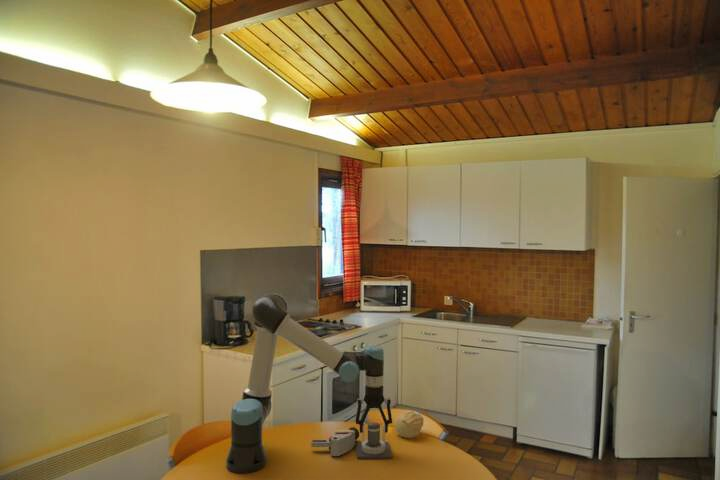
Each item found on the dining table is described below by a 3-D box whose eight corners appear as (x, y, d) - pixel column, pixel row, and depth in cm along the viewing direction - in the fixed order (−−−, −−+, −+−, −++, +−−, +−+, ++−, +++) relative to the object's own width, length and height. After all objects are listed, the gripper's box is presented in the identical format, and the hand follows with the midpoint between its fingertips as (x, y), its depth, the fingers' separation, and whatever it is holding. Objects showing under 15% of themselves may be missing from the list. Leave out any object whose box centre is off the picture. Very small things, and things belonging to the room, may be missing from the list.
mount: (357, 459, 197) (357, 451, 197) (355, 444, 211) (355, 437, 211) (392, 458, 198) (392, 451, 198) (388, 444, 212) (388, 437, 212)
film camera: (329, 437, 220) (360, 442, 214) (308, 452, 202) (341, 458, 196) (329, 421, 220) (360, 426, 214) (308, 435, 203) (341, 440, 197)
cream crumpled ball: (409, 443, 213) (410, 418, 213) (389, 434, 222) (390, 410, 222) (427, 436, 221) (427, 412, 220) (407, 428, 229) (407, 405, 229)
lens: (368, 451, 201) (367, 427, 201) (367, 446, 207) (367, 422, 207) (380, 451, 202) (380, 427, 202) (379, 446, 207) (379, 422, 207)
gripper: (349, 387, 200) (348, 444, 200) (400, 387, 201) (399, 443, 201) (348, 382, 207) (348, 436, 207) (397, 382, 208) (397, 436, 209)
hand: (373, 440), depth 204 cm, fingers open, 8 cm apart
